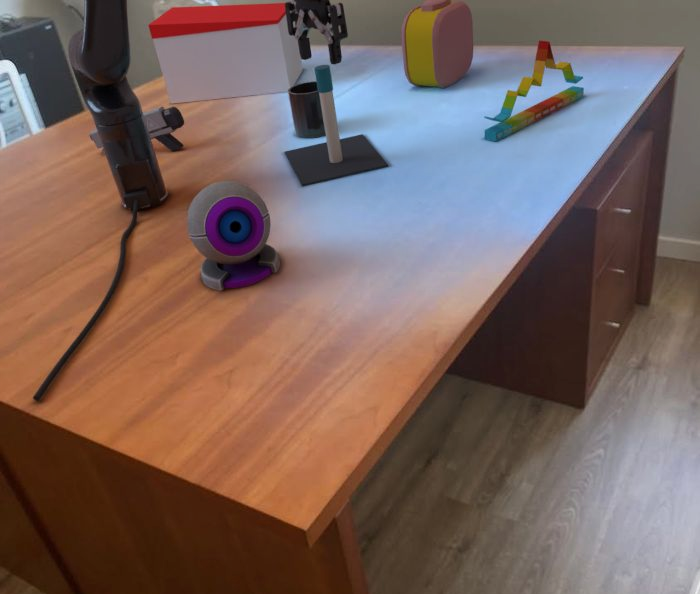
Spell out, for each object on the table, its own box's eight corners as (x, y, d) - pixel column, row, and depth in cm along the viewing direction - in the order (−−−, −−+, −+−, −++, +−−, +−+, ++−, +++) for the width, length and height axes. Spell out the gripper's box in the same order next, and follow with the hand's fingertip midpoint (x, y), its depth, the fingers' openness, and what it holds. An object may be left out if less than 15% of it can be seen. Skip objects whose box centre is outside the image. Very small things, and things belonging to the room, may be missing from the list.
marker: (344, 161, 150) (331, 67, 139) (331, 164, 150) (316, 70, 139) (341, 156, 153) (327, 63, 141) (327, 159, 152) (312, 66, 141)
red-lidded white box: (190, 81, 219) (171, 7, 207) (302, 69, 214) (290, -8, 201) (169, 104, 203) (147, 25, 191) (290, 91, 197) (275, 9, 185)
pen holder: (337, 132, 166) (331, 88, 160) (299, 141, 165) (291, 97, 159) (329, 121, 173) (322, 78, 167) (292, 129, 172) (284, 86, 166)
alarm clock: (440, 69, 195) (435, -10, 184) (476, 71, 189) (474, -10, 178) (403, 91, 184) (396, 9, 172) (441, 94, 178) (436, 9, 166)
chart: (496, 141, 149) (495, 66, 140) (484, 138, 151) (482, 64, 142) (584, 96, 163) (588, 25, 154) (572, 94, 165) (575, 24, 156)
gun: (192, 145, 168) (172, 104, 163) (108, 172, 178) (86, 134, 173) (197, 141, 170) (177, 100, 165) (113, 168, 180) (92, 130, 175)
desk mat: (388, 166, 146) (388, 164, 146) (302, 186, 144) (301, 184, 144) (362, 135, 162) (362, 134, 162) (284, 153, 160) (284, 151, 160)
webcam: (213, 299, 113) (187, 211, 104) (194, 265, 123) (169, 183, 114) (290, 273, 116) (271, 186, 107) (265, 242, 126) (247, 160, 117)
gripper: (267, -29, 132) (283, 63, 142) (318, -28, 123) (332, 70, 133) (297, -38, 136) (311, 52, 146) (350, -37, 127) (360, 59, 136)
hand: (321, 61), depth 139 cm, fingers open, 8 cm apart
